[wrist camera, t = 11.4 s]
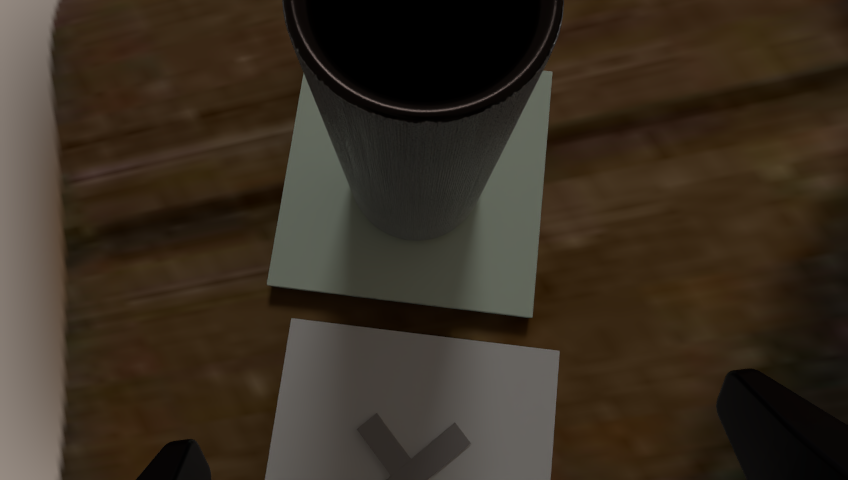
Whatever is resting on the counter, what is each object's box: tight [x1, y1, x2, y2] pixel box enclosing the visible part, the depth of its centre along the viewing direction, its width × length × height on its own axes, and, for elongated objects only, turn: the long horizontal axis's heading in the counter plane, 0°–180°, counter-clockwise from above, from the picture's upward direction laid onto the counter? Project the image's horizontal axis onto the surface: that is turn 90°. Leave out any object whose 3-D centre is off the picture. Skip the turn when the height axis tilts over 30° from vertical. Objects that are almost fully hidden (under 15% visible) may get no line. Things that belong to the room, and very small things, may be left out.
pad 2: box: [265, 318, 560, 480], centre depth 17 cm, size 9×9×1 cm
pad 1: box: [267, 71, 552, 318], centre depth 19 cm, size 9×9×1 cm
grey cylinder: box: [283, 0, 564, 241], centre depth 13 cm, size 4×4×10 cm
